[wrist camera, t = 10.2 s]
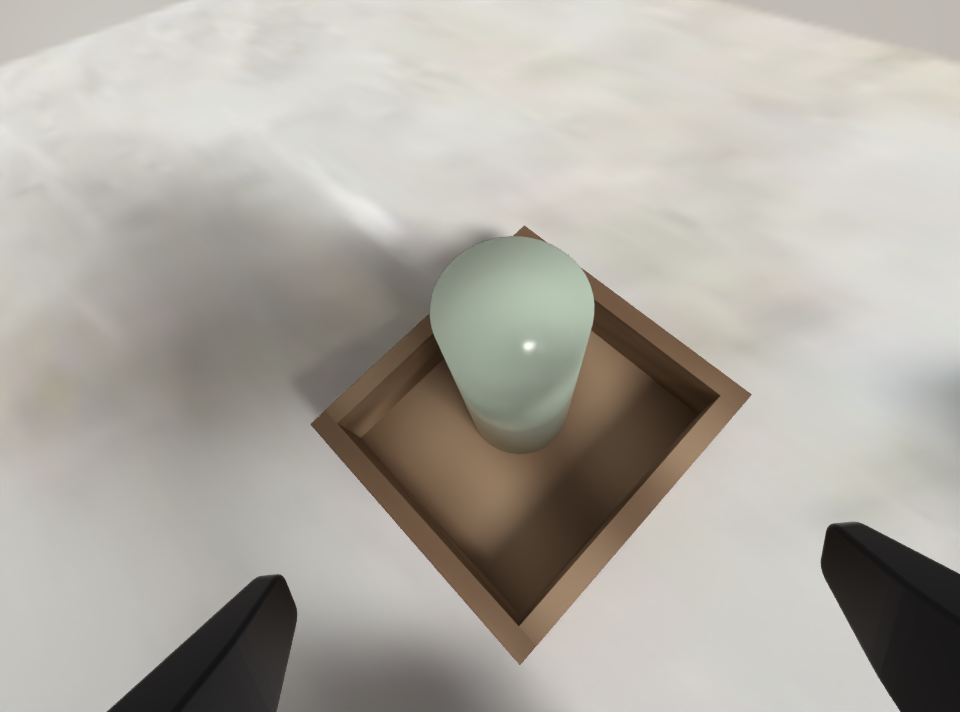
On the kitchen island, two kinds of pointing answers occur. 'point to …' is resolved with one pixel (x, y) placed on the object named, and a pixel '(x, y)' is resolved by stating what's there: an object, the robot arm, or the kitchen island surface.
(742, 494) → the kitchen island surface
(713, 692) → the kitchen island surface
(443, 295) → the mint tapered capsule
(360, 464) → the walnut tray
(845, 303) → the kitchen island surface
